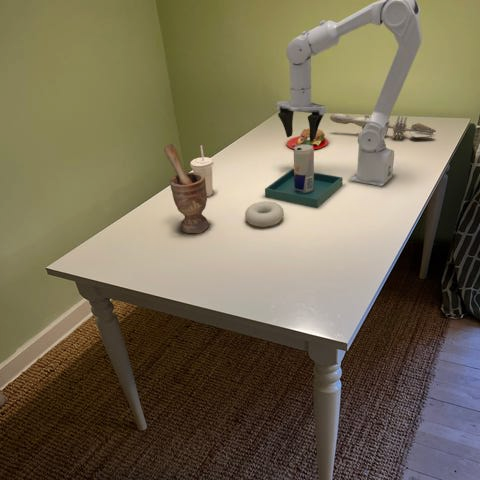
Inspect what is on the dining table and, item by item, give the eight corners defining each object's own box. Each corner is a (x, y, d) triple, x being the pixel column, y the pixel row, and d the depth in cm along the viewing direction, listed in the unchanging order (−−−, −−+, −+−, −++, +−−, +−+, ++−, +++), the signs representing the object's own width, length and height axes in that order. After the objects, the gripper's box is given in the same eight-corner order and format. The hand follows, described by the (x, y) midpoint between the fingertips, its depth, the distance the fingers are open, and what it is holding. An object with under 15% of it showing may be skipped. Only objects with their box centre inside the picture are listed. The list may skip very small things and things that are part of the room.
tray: (342, 185, 136) (342, 177, 134) (316, 208, 127) (317, 199, 125) (292, 176, 144) (292, 168, 142) (265, 196, 135) (264, 188, 133)
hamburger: (294, 135, 171) (294, 117, 167) (333, 137, 165) (333, 119, 162) (280, 149, 161) (279, 131, 157) (320, 152, 156) (321, 134, 152)
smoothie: (214, 198, 136) (207, 150, 128) (192, 198, 138) (184, 150, 129) (219, 189, 141) (213, 141, 132) (198, 189, 143) (191, 141, 134)
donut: (238, 218, 126) (257, 233, 119) (237, 206, 124) (256, 220, 117) (271, 207, 129) (291, 221, 122) (270, 195, 127) (291, 208, 120)
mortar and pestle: (163, 228, 126) (146, 153, 113) (183, 214, 131) (170, 140, 118) (198, 237, 120) (185, 159, 107) (217, 222, 125) (207, 146, 113)
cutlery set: (334, 105, 167) (330, 103, 160) (439, 121, 156) (438, 119, 149) (329, 130, 170) (324, 128, 163) (431, 146, 159) (431, 145, 152)
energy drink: (293, 187, 137) (292, 145, 129) (311, 184, 137) (311, 142, 129) (296, 195, 133) (295, 152, 125) (315, 192, 133) (315, 149, 125)
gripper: (270, 89, 131) (272, 139, 140) (317, 93, 124) (316, 145, 133) (283, 82, 135) (284, 131, 144) (330, 86, 128) (328, 137, 137)
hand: (301, 137), depth 139 cm, fingers open, 7 cm apart
